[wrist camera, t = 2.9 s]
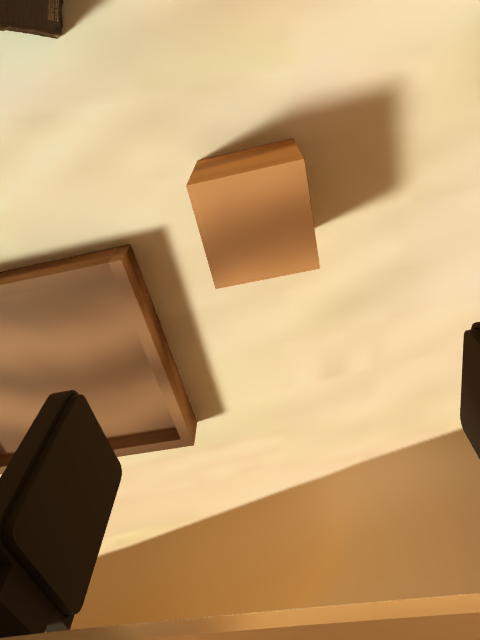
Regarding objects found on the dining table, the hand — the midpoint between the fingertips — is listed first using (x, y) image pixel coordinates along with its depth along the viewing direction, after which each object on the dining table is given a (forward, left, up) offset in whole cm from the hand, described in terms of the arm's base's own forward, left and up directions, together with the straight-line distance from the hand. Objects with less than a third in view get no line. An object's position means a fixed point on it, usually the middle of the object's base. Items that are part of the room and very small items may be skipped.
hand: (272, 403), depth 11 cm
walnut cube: (0, 0, -18) cm, 18 cm away
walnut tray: (+9, -17, -18) cm, 26 cm away
